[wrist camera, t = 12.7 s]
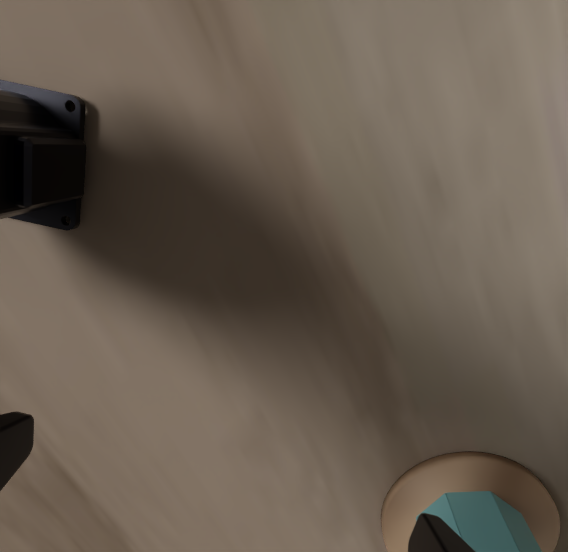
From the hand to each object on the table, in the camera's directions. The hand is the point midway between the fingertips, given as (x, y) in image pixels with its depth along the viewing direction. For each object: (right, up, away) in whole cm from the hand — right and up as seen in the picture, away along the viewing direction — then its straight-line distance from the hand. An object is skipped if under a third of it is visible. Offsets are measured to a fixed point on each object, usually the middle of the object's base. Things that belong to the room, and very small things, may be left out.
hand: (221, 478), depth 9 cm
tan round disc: (+12, -10, +16) cm, 23 cm away
